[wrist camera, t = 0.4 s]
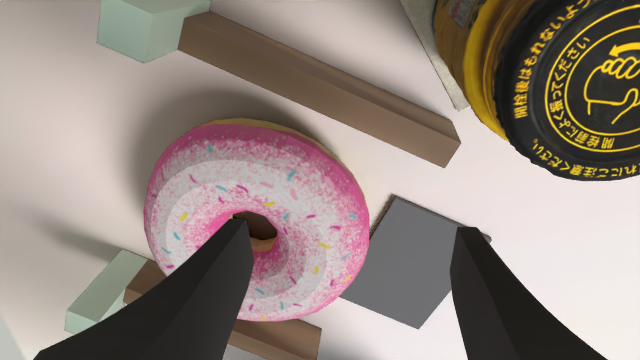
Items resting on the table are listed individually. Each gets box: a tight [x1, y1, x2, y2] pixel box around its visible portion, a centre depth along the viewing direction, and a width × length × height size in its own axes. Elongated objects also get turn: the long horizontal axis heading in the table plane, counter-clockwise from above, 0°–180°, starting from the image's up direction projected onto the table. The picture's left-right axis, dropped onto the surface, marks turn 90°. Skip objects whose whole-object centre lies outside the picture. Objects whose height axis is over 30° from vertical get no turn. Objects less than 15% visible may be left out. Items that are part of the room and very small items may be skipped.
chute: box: [64, 0, 461, 360], centre depth 23 cm, size 21×16×6 cm
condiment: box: [399, 0, 640, 181], centre depth 13 cm, size 7×8×12 cm
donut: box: [144, 118, 369, 321], centre depth 24 cm, size 14×13×5 cm
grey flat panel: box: [338, 196, 492, 330], centre depth 27 cm, size 9×6×1 cm
